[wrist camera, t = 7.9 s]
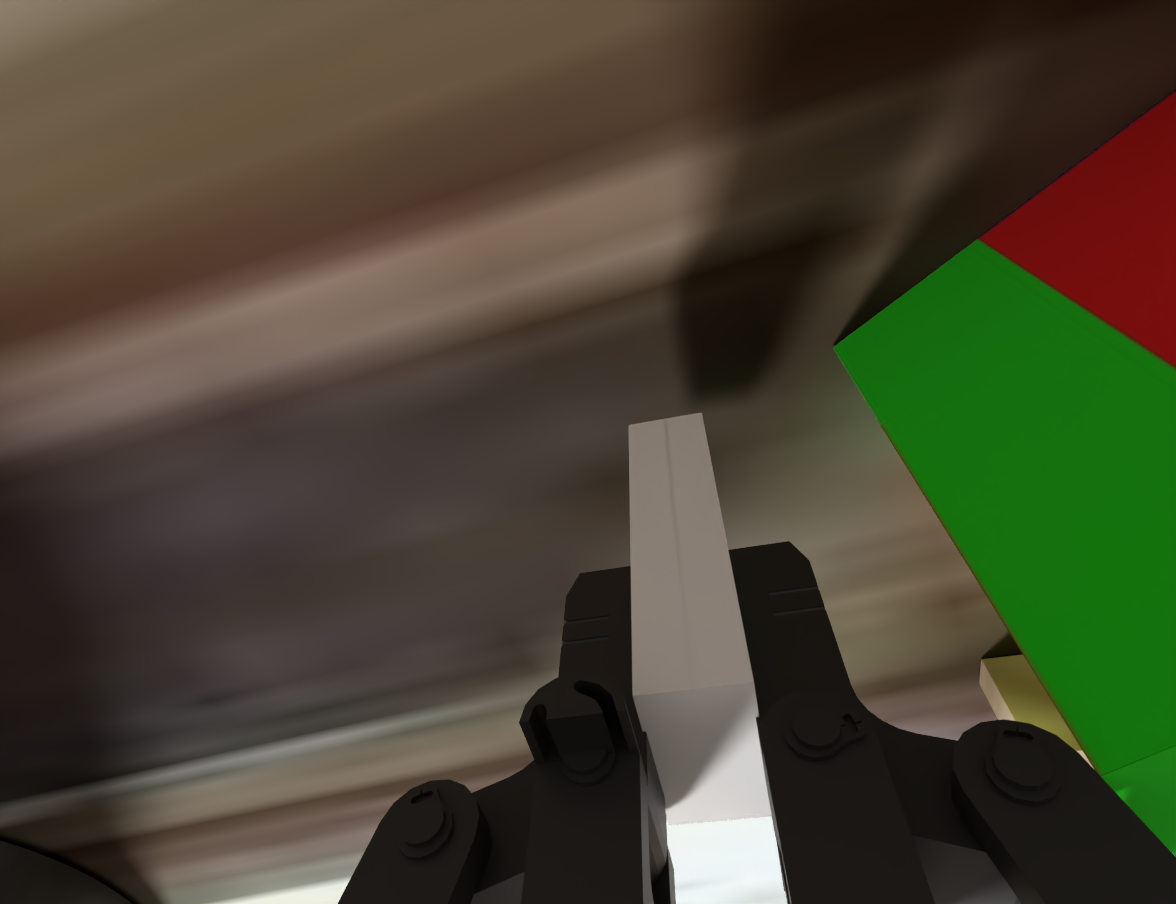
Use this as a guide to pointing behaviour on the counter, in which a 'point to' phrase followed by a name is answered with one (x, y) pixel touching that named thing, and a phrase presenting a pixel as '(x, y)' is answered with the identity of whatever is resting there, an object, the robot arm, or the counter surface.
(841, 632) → the counter surface
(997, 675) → the tray
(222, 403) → the counter surface
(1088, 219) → the puzzle toy
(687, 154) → the counter surface
